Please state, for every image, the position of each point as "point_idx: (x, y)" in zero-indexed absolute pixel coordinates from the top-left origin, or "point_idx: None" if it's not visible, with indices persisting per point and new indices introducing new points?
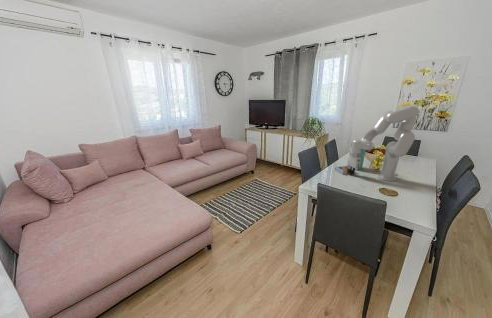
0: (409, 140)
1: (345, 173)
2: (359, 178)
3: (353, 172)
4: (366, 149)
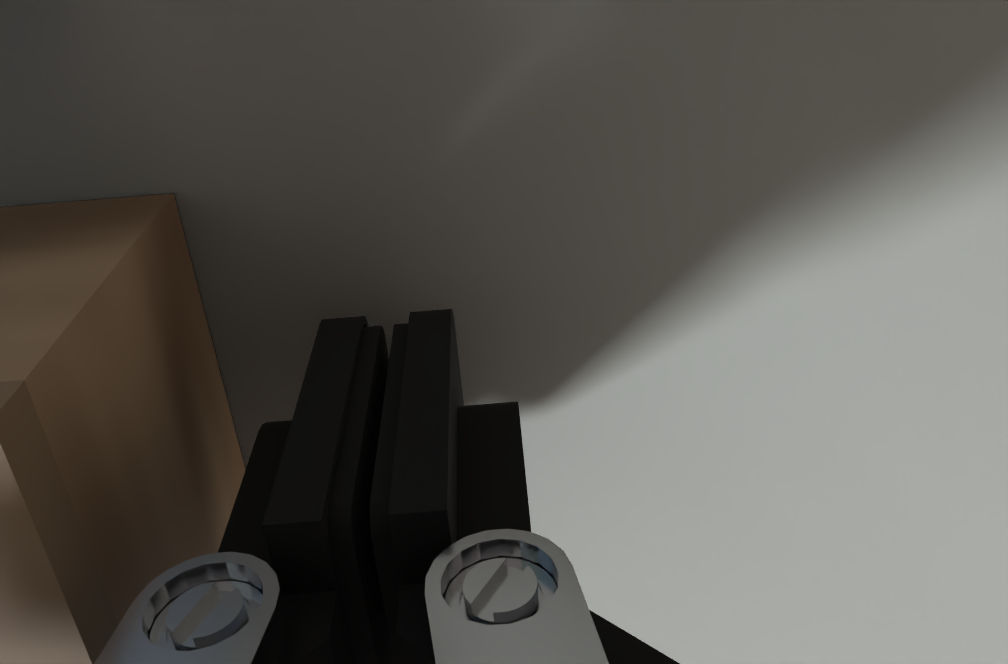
0: None
1: None
2: (974, 216)
3: (522, 465)
4: None
